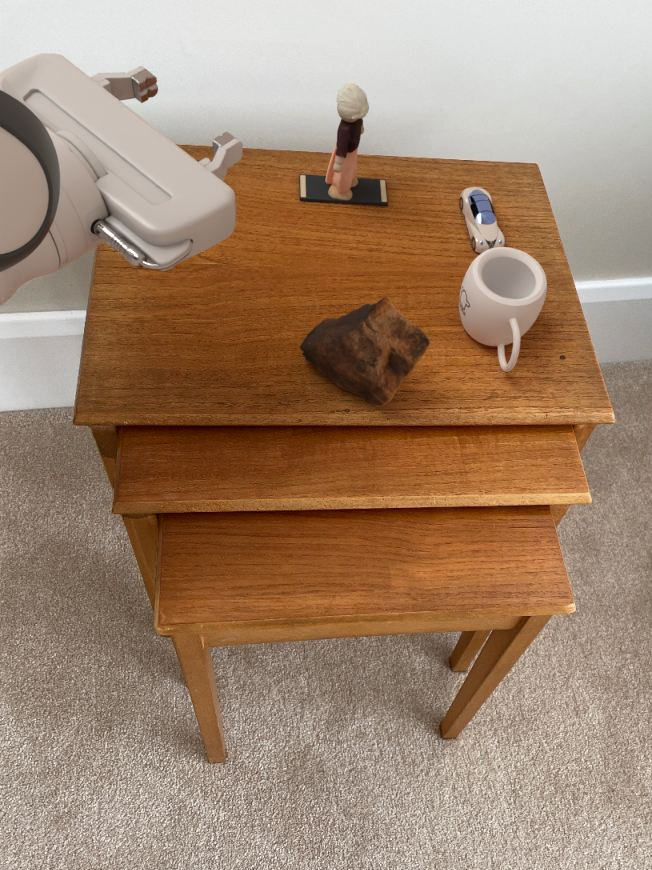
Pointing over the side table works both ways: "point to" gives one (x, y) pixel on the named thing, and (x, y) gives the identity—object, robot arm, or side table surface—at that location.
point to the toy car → (480, 219)
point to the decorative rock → (367, 350)
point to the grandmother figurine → (347, 141)
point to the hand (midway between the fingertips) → (193, 111)
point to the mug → (502, 299)
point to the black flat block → (362, 193)
